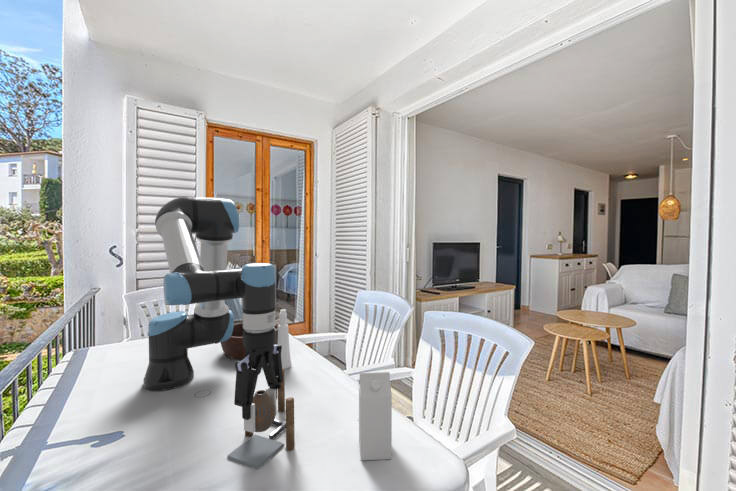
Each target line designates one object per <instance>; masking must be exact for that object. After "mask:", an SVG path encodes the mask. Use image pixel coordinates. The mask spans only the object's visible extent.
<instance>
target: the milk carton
mask: <svg viewBox="0 0 736 491" xmlns="http://www.w3.org/2000/svg"><path fill="white" fill-rule="evenodd" d="M390 379H391V376H390V371H381V372H380V371H378V372H360V373H359V379H358V380H359V381H358V445H359V455H360V456H359V457H360V461H373V460H374V461H377V460H392V444H393V443H392V442H393V440H392V439H393V438H392V437H393V435H392V434H393V431H392V423H393V422H392V420H393V419H392V418H393V417H392V416H393V414H392V410H393V408H392V407H393V406H392V405H393V404H392V402H393V401H392V399H393V397H392V396H393V395H392V394H393V393H392V386H391V380H390Z"/></svg>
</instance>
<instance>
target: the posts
mask: <svg viewBox="0 0 736 491" xmlns="http://www.w3.org/2000/svg"><path fill="white" fill-rule="evenodd" d="M285 370H286V369H282V372H283V382H282V383H279V384H280V385H281V388H280V389H277V412H279V413H283V412H285V422H286V429H285V450H287V451H289V452H290V451H292V450H294V449H295V445H296V444H295V443H296V442H295V398H294V397H286V393H285V392H286V390H285V386H286V383H285V382H286V381H285V380H286V379H285V378H286V377H285V375H286V374H285V372H286V371H285ZM277 377H278V376H277ZM247 400H248V399H247ZM253 435H254V433H251V432H248V431H245V430H244V437H247V438H251V437H252V436H253Z"/></svg>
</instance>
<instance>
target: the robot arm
mask: <svg viewBox="0 0 736 491" xmlns="http://www.w3.org/2000/svg"><path fill="white" fill-rule="evenodd" d="M154 222H155V226H154V227H155V229H156V231H157V233H158V235H159V236H160V237H161V238H162V242H163V248H164V251H165V256H166V260H167V266H168V270H169V273H167V274H165V275H164V277H163V298H164V302H165V303H166V305H168V306H181V305H182V306H188V305H195V304H198V305H196V306H195V307H194V308H193V314H188V313H187V312H186V311H183V310H181V311H171V312H167V313H162V314H161V315H160V314H159V315H157V316H155V317H154V318H152V319H151V320H150V321H149V322H148V326H147V330H148V331H147V336H148V365H147V368H146V372H145V375H144V377H143V388H144V389H145V390H147V391H151V392H153V391H155V392H157V391H159V392H160V391H169V390H173V389H176V388H179V387H183V386H184V385H186V384H187V385H188V384H189V383H190V382H191V381H192V380H193V379H194V377H195V375H194V374H195V373H194V368H193V365H192V363H191V360H190V358H189V356H188V354H189V353H188V352H189V351H188V349H192V348H197V347H198V348H199V347H203V346H208V345H213V344H215V345H216V344H219V343H220V342H224V341H227V340H228V339H229V338H230V337H231V335H232V332H233V326H234V324H235V322H234V313H233V311H232V310H230V308H229V306H228V305H227V304H226V303H225V302H226V301H227V300H234V299H241V300H242V303H241V304H242V322H243V329H244V331H243V345H244V347H245V349H246V354H245V358H244V359H243V360H236V361H235V363H234V368H235V385H234V386H235V387H234V401H233V402H234V403H233V404H234V406H238V407H241V412H242V413H241V416H242V419H243V431H244V432H245V431H248V432H251V433H253V434H254V433H256V432H255V404H254V403H252V401H253V397H254V395H255V393H256V386H257V383H258V377H259V375H260V374H261V373H262V371H263V373H264V374H263V375H264V377H265V381H266V384H267V386H268V387H266V388H265V391H266V393H267V395H268V396H269V397H270V398H271V399H272V400H273V402H274V404H275V408H276V415H275V417H276V416H277V415H278V413H277V412H278V389H280V388H281V385H280V384H279V383H282V382H283V372H282V361H281V350H282V346H281V345H278V344H277V345H275V343H276V329H275V328H274V326H275V325H276V323H277V322H276V321H277V320H276V282H277V277H276V270H275V269H276V268H275V265H273V264H272V263H268V262H267V263H265V262H259V263H258V262H256V263H255V262H254V263H253V262H252V263H247V264H244V265H243V266H242V267H239V266H238V267H236V268H231V269H227V265H228V264H227V262H228V247H229V244H228V243H229V242H230V241H233V237H234V236H233V235H234V234H236V233H238V232H239V229H240V217H239V212H238V209H237V206H236V203H234V201H232V200H231V199H228V198H220V197H191V196H183V197H177V198H174V199H172V200H169V201H168V202H166V203H165V204H164V205H162V207H161V208H160V209H159V210H158V211H157V213H156V215H155V220H154ZM193 233H194V234H195V238H196V239H197V240H198V241H199V242H200V253H199V251H198V248H197V245H196V242H195V240H194V239H195V238H194V236H193ZM220 344H221V343H220ZM277 376H278V377H277ZM247 399H248V400H247Z"/></svg>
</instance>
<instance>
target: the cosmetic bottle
mask: <svg viewBox="0 0 736 491" xmlns="http://www.w3.org/2000/svg"><path fill="white" fill-rule="evenodd" d="M278 317H279V323H278V344H277V345H281V346H282V350H281V361H282V369H284V370H286V369H289V368H291V367H292V364H293V363H292V358H291V351H290V337H289V336H290V335H289V324H288V321H287V320H288V318H287V317H288V312H287V309H285V308H283V309H280V312H279V316H278Z"/></svg>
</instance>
